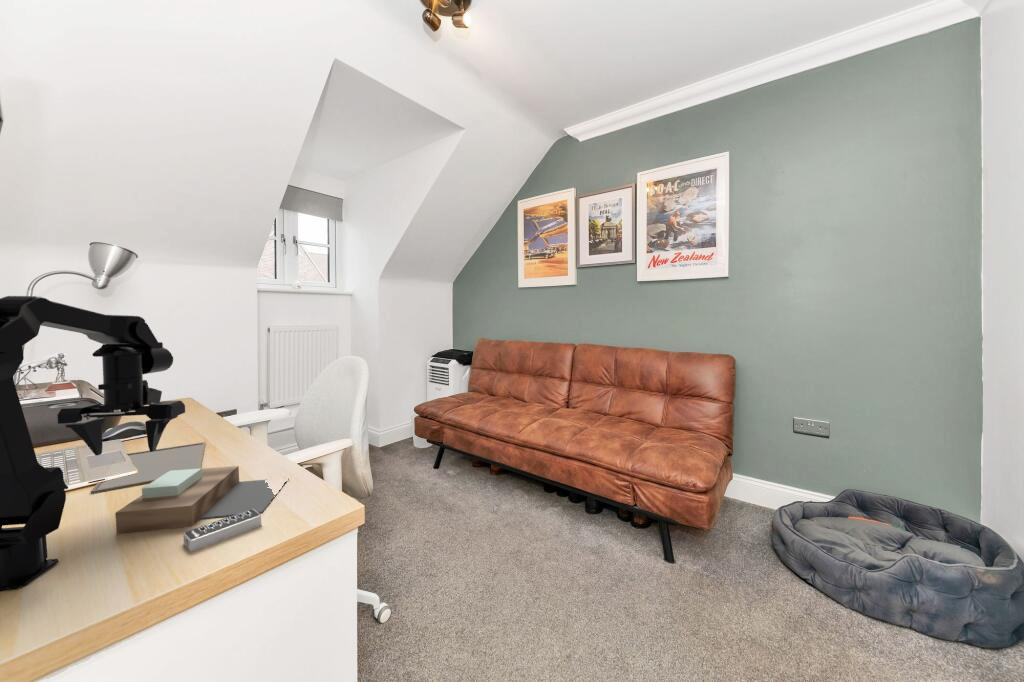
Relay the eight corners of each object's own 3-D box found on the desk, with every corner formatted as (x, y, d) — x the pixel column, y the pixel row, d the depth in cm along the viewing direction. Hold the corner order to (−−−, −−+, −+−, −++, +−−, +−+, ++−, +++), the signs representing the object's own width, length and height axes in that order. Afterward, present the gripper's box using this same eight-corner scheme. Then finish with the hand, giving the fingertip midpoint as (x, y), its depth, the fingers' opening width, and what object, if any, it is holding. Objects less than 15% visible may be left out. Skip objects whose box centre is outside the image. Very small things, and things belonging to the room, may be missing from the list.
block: (178, 495, 79) (177, 485, 78) (142, 498, 77) (141, 488, 77) (202, 477, 87) (201, 468, 87) (170, 479, 86) (170, 470, 86)
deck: (192, 525, 75) (191, 505, 74) (116, 533, 72) (115, 512, 72) (239, 482, 94) (238, 465, 94) (180, 487, 91) (180, 470, 91)
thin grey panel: (119, 458, 110) (90, 496, 88) (119, 454, 110) (90, 491, 88) (205, 445, 122) (200, 475, 99) (205, 442, 121) (199, 471, 99)
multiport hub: (262, 526, 75) (261, 514, 75) (190, 554, 67) (189, 541, 66) (253, 519, 78) (252, 508, 78) (183, 544, 69) (182, 532, 69)
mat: (262, 513, 80) (262, 511, 80) (199, 519, 77) (199, 517, 77) (289, 478, 96) (289, 477, 96) (238, 483, 94) (238, 481, 94)
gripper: (197, 371, 90) (199, 439, 90) (98, 374, 85) (101, 444, 86) (168, 378, 79) (170, 454, 80) (52, 381, 75) (55, 461, 75)
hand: (126, 453), depth 80 cm, fingers open, 9 cm apart
